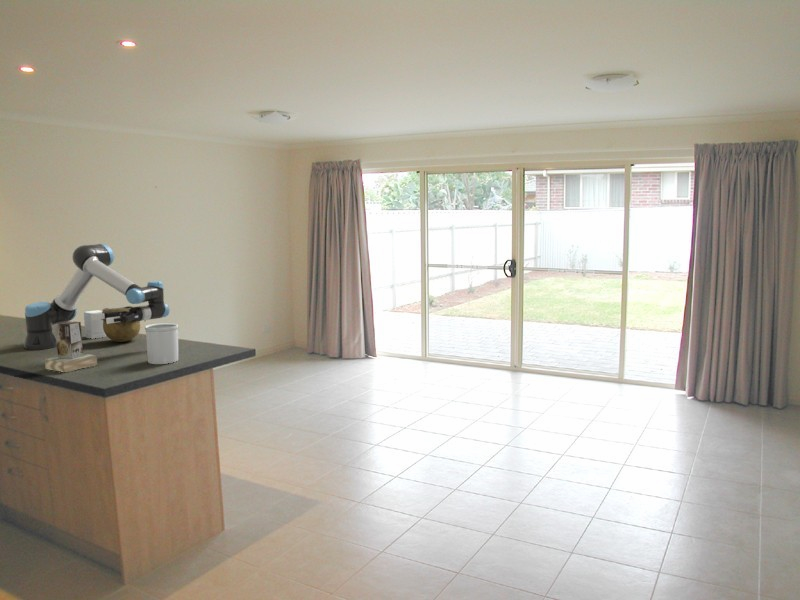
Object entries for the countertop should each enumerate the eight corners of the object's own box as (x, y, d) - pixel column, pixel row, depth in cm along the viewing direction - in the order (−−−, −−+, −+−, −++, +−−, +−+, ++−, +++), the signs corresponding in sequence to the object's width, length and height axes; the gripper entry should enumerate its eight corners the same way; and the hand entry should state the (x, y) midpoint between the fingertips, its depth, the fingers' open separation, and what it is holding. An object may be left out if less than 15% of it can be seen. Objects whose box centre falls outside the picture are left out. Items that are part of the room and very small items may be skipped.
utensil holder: (154, 357, 301) (152, 322, 299) (184, 357, 301) (182, 322, 298) (141, 364, 287) (139, 328, 284) (172, 365, 286) (170, 328, 284)
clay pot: (99, 340, 341) (96, 305, 338) (139, 336, 353) (137, 302, 350) (104, 347, 324) (102, 310, 321) (147, 342, 335) (144, 306, 332)
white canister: (107, 337, 350) (106, 311, 348) (91, 339, 343) (89, 313, 341) (101, 334, 356) (99, 309, 354) (85, 337, 349) (83, 311, 347)
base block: (45, 369, 278) (44, 358, 277) (78, 362, 292) (77, 351, 291) (64, 373, 271) (63, 362, 270) (97, 365, 285) (96, 355, 284)
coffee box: (83, 356, 282) (81, 321, 280) (72, 359, 276) (69, 324, 274) (69, 354, 285) (66, 320, 283) (57, 357, 279) (54, 322, 277)
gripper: (154, 323, 303) (113, 330, 286) (125, 318, 317) (85, 324, 300) (153, 308, 302) (112, 314, 285) (125, 303, 316) (84, 308, 299)
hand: (98, 319), depth 292 cm, fingers open, 13 cm apart
